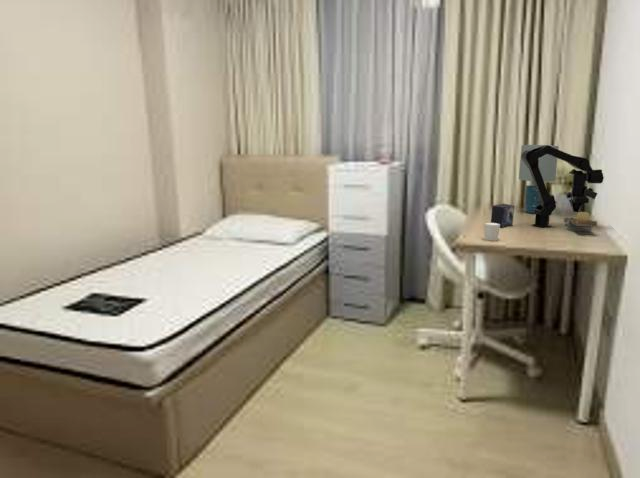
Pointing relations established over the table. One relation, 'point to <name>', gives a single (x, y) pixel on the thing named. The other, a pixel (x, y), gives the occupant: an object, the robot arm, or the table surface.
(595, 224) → the brown long shallow tray
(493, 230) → the white cup
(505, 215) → the small box
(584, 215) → the block
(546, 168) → the lamp
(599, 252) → the table surface
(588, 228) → the pivot stand
